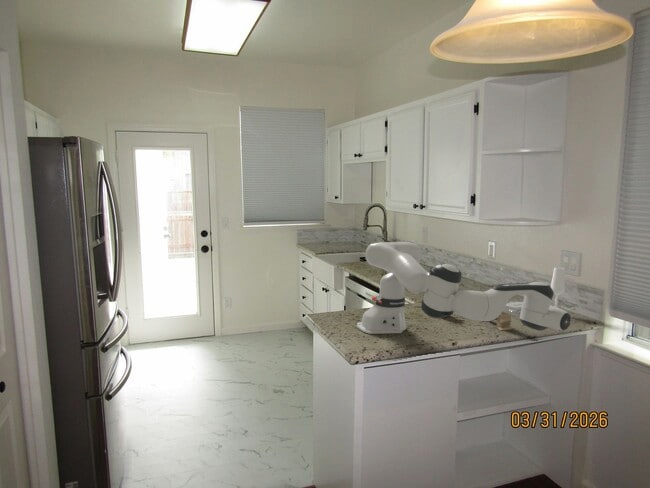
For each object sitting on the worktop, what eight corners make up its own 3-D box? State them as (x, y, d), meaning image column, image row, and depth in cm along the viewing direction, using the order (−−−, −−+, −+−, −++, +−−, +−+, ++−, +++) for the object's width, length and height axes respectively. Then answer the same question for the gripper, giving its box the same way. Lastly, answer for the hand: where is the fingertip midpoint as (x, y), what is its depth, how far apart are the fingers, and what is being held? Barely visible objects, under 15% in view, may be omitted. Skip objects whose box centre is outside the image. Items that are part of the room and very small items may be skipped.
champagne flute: (545, 312, 232) (549, 267, 229) (554, 311, 235) (558, 266, 232) (555, 316, 226) (560, 269, 223) (565, 314, 229) (569, 269, 226)
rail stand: (513, 329, 203) (514, 313, 202) (500, 330, 201) (501, 314, 200) (478, 314, 227) (479, 300, 226) (466, 315, 224) (467, 300, 223)
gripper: (514, 320, 184) (492, 311, 197) (553, 316, 190) (529, 308, 203) (515, 305, 183) (493, 297, 196) (554, 302, 190) (530, 294, 203)
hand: (511, 303), depth 200 cm, fingers closed
